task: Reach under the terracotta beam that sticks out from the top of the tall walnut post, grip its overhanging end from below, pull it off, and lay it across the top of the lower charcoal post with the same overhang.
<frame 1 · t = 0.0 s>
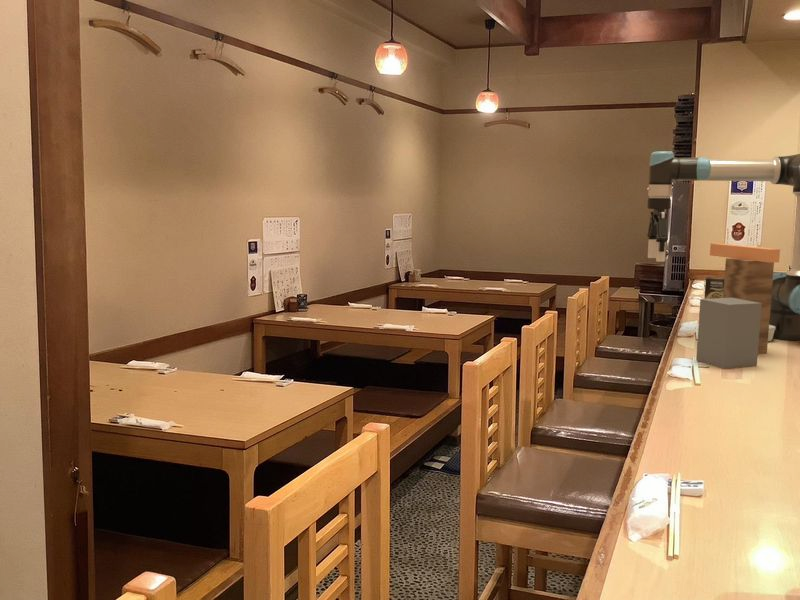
hand: (656, 259, 266), 28 cm above the bar counter, tool pointing down, fingers open, 13 cm apart
coffee box: (715, 317, 320), on the bar counter
beam: (742, 258, 250), point 30 cm above the bar counter, touching tall post
ramekin: (756, 340, 271), on the bar counter
low post: (726, 363, 234), on the bar counter
tall post: (742, 351, 252), on the bar counter
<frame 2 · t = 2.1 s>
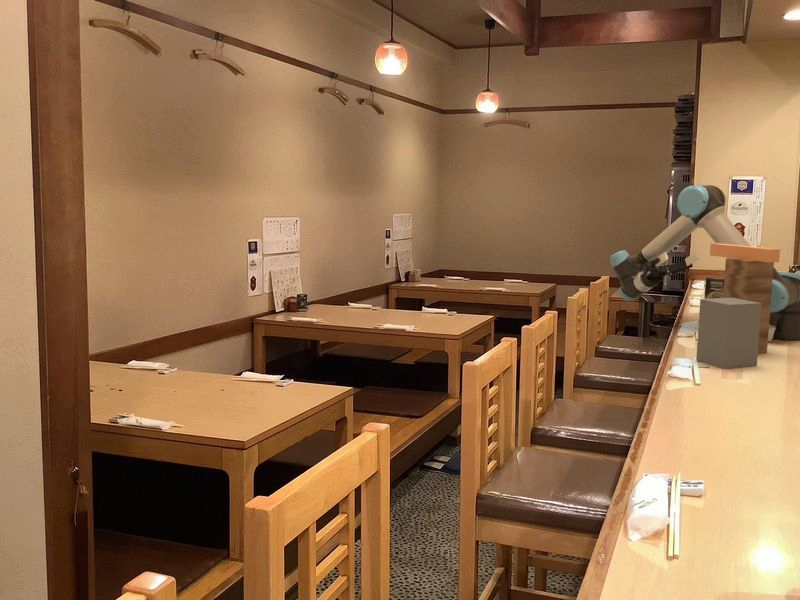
hand: (682, 255, 277), 29 cm above the bar counter, tool pointing upward, fingers open, 13 cm apart
nothing on the bar counter moved.
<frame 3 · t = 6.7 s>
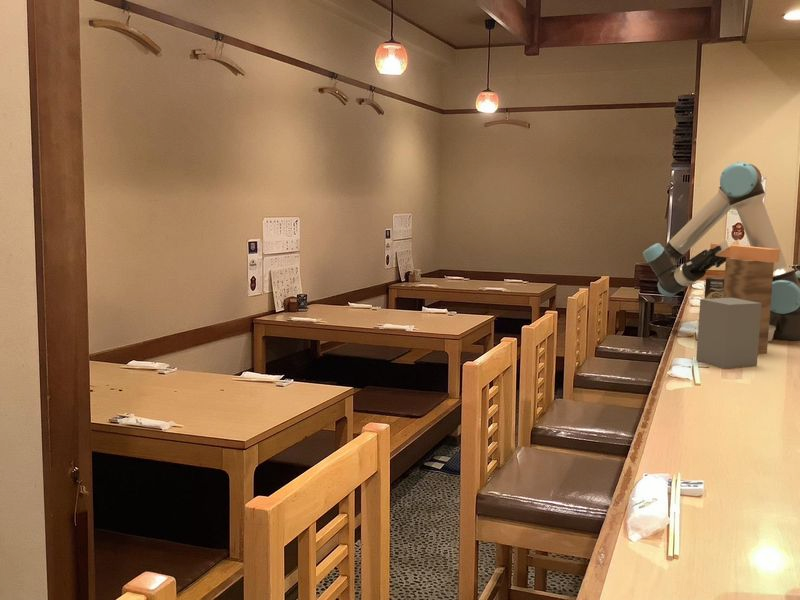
hand: (734, 243, 254), 35 cm above the bar counter, tool pointing upward, fingers closed on beam, 4 cm apart
beam: (742, 258, 250), point 30 cm above the bar counter, touching gripper, tall post
everything else where it was.
when the fingers open (25 cm above the bar counter, at t = 15.1 s): beam drops 2 cm, resting on low post.
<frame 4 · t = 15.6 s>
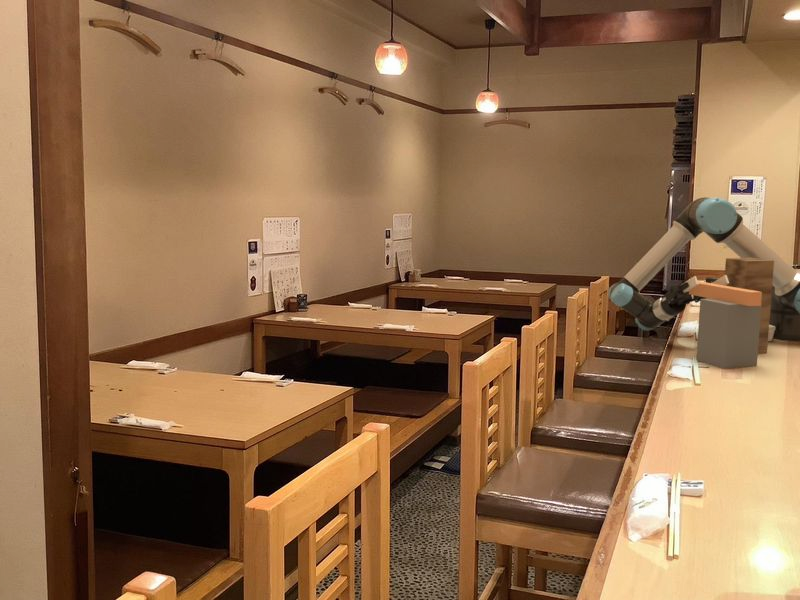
hand: (711, 279, 238), 25 cm above the bar counter, tool pointing upward, fingers open, 11 cm apart
beam: (723, 299, 234), point 19 cm above the bar counter, touching low post
everything else where it was.
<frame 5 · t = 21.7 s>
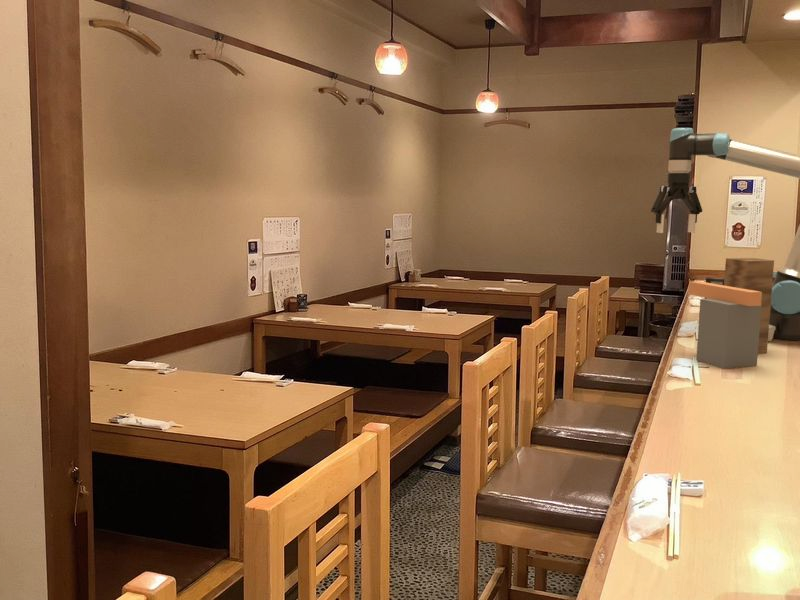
hand: (675, 232, 277), 37 cm above the bar counter, tool pointing down, fingers open, 13 cm apart
nothing on the bar counter moved.
at the end: beam inside the target area on the low post (0.1 cm from its centre), point 19.0 cm above the low post's base; beam touching low post; the gripper is holding nothing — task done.
